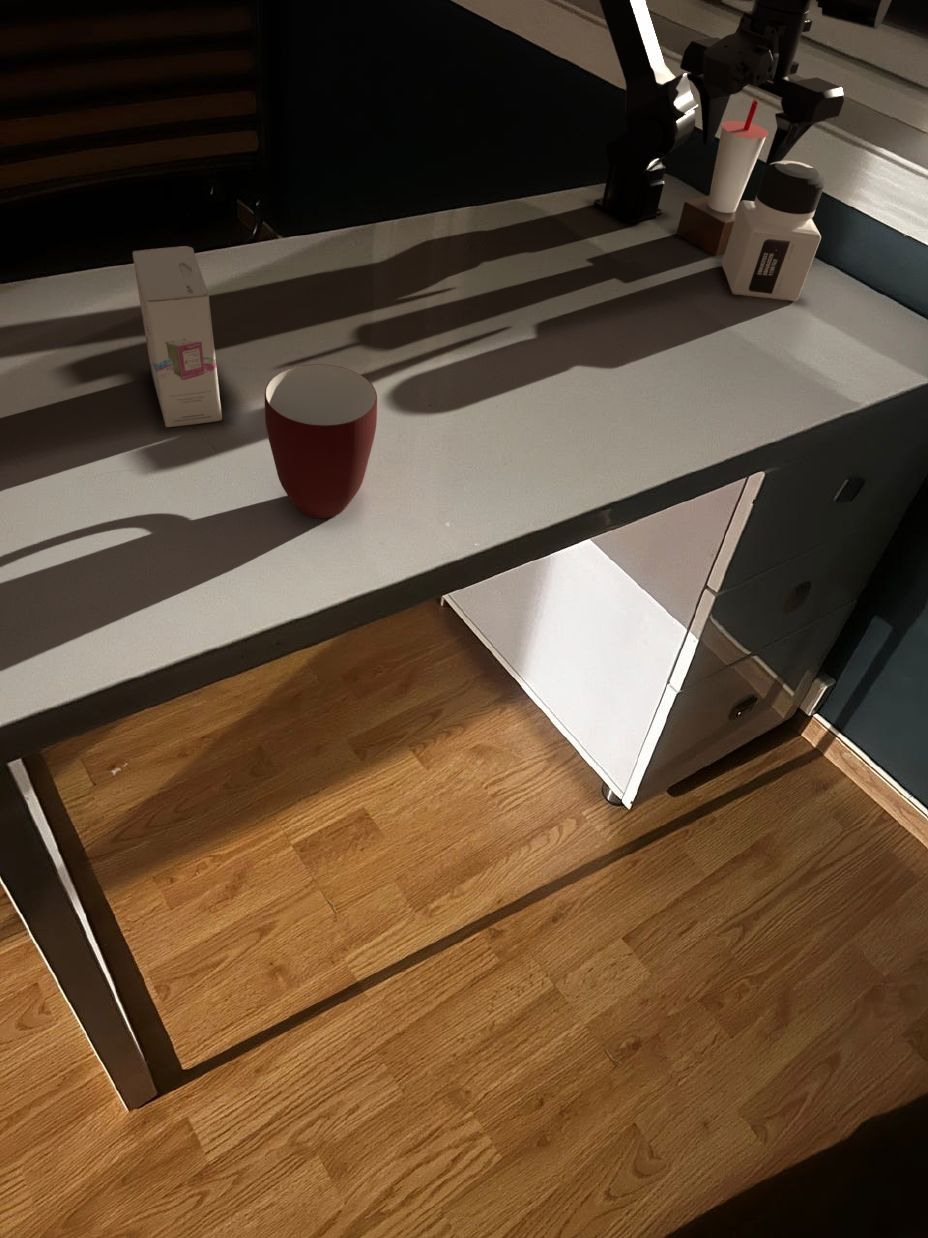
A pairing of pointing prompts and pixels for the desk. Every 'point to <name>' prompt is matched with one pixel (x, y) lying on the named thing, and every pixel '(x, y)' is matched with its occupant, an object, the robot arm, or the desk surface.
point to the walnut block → (706, 225)
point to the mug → (320, 434)
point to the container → (775, 234)
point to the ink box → (178, 334)
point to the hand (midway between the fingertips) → (736, 158)
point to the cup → (735, 161)
